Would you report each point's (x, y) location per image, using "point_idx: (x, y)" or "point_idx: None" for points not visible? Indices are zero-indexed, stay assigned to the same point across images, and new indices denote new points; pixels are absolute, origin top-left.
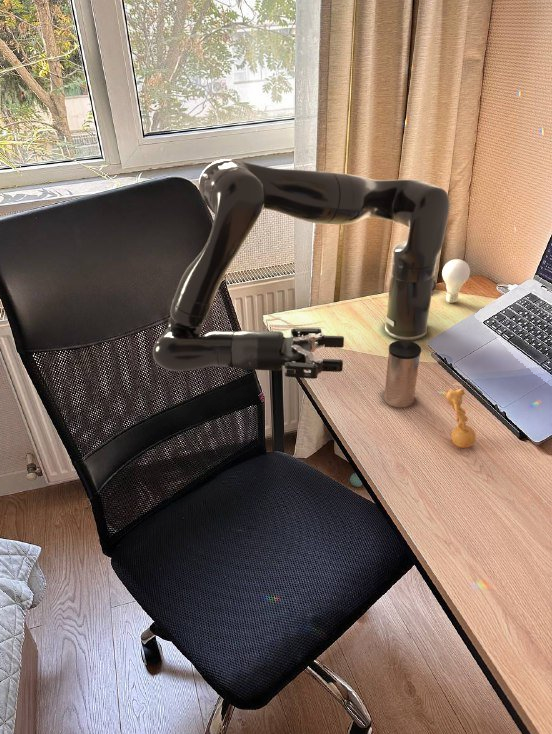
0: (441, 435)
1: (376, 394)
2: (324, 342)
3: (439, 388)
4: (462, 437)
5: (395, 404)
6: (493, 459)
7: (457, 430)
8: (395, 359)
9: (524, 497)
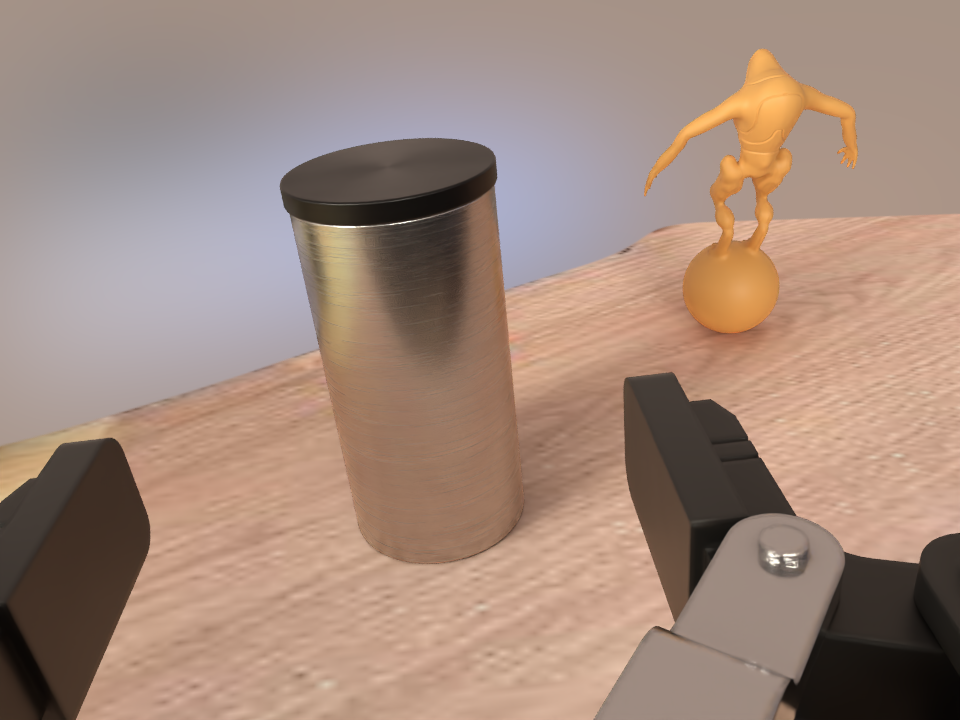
0: (693, 370)
1: (399, 604)
2: (31, 679)
3: None
4: (772, 265)
5: (522, 496)
6: None
7: (750, 264)
8: (478, 218)
9: (904, 236)
